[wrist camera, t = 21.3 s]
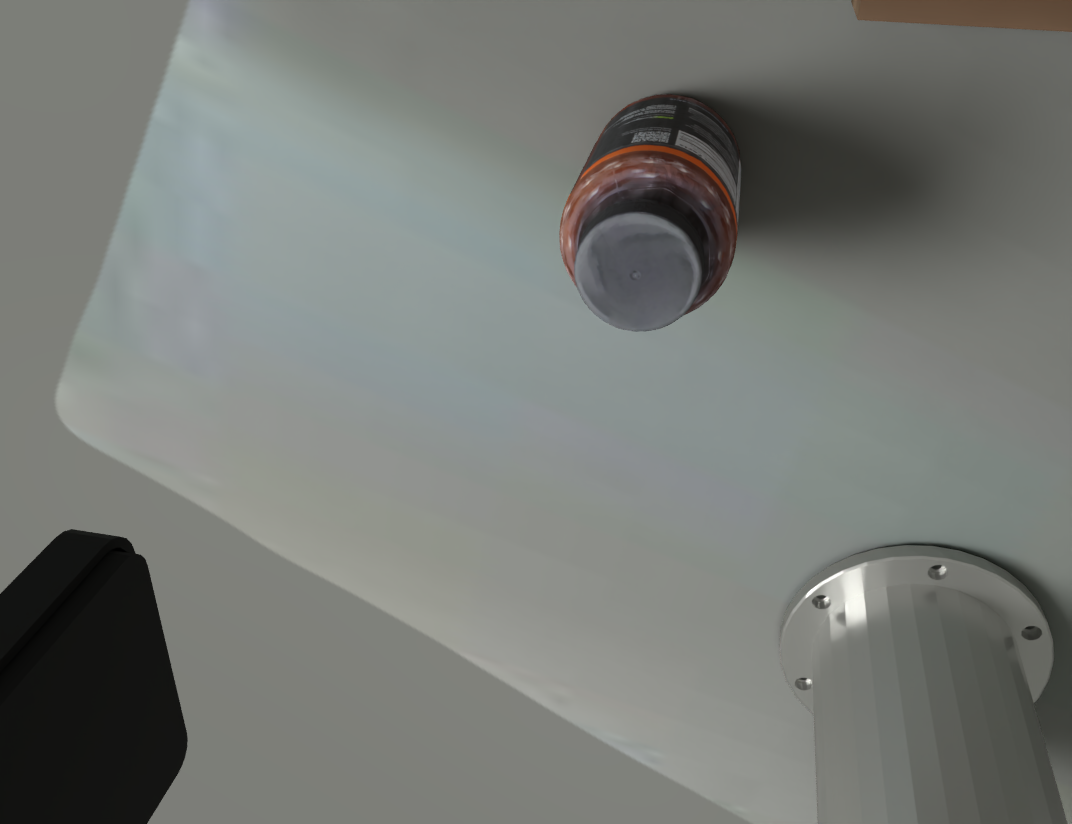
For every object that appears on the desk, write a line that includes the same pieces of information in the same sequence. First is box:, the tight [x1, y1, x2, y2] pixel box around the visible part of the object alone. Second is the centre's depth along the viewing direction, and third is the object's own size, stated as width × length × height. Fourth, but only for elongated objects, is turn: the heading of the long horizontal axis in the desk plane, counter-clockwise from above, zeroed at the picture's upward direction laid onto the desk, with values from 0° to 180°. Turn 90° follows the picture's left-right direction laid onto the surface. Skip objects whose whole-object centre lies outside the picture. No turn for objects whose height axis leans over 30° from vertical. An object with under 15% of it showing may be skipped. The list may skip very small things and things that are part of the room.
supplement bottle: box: [560, 94, 741, 331], centre depth 36 cm, size 6×6×11 cm
